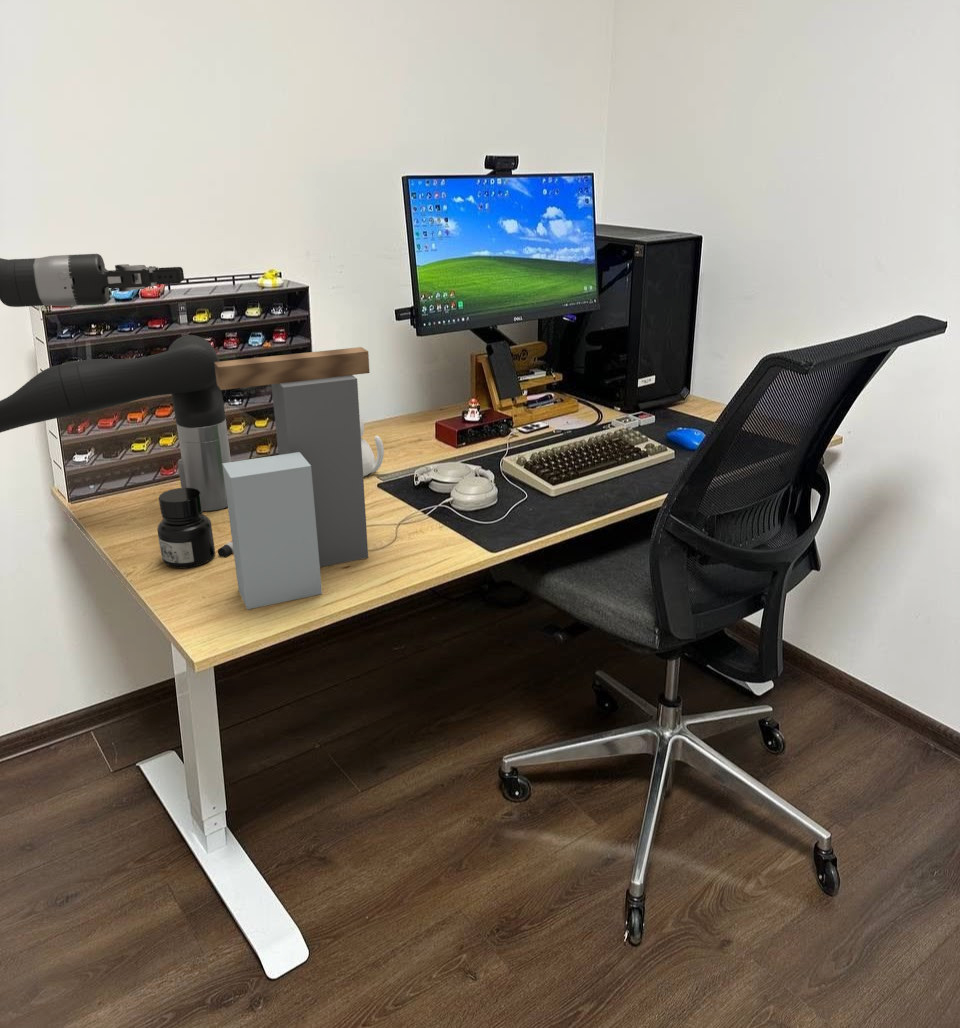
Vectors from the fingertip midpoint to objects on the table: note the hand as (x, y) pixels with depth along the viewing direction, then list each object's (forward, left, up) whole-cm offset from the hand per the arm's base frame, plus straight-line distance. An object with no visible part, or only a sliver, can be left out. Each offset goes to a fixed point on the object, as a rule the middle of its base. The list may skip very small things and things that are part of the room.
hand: (182, 274), depth 140 cm
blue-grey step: (+18, -12, -48) cm, 53 cm away
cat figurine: (+9, +42, -48) cm, 65 cm away
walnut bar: (+17, +1, -16) cm, 24 cm away
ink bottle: (-3, -5, -48) cm, 48 cm away
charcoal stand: (+20, +3, -48) cm, 52 cm away
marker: (+3, +5, -49) cm, 49 cm away
